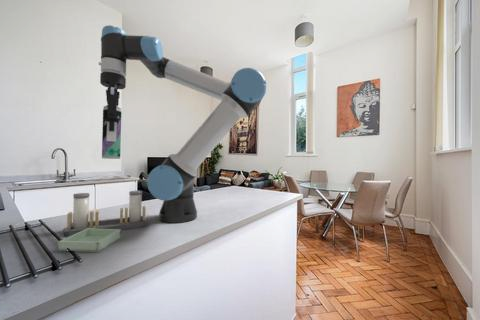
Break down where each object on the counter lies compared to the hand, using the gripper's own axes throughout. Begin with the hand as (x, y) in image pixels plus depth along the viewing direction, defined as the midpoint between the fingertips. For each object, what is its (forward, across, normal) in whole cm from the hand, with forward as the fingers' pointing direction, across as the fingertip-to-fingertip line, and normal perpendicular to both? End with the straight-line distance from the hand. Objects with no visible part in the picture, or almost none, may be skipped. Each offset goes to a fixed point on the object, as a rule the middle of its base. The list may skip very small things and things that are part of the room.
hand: (111, 141), depth 72 cm
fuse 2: (+30, 0, +8) cm, 31 cm away
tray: (+30, +14, -4) cm, 33 cm away
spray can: (+6, 0, 0) cm, 6 cm away
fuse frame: (+30, 0, 0) cm, 30 cm away
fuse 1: (+30, 0, -8) cm, 31 cm away
